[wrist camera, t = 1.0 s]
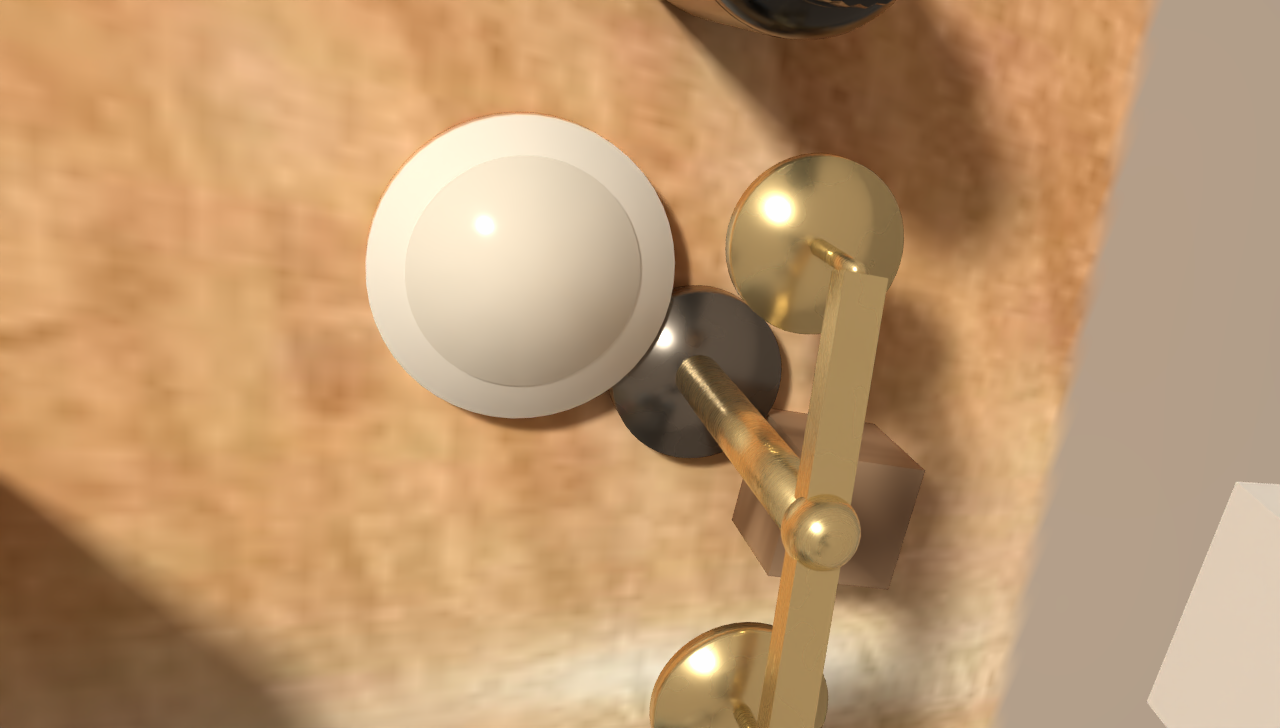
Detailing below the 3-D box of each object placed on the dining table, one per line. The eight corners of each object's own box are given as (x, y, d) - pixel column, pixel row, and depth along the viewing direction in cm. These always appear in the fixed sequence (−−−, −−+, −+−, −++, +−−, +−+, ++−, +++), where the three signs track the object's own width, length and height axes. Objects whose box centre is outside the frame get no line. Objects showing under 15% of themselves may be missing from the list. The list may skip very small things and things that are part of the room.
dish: (718, 302, 43) (728, 313, 41) (476, 459, 42) (479, 474, 41) (567, 51, 39) (574, 54, 38) (302, 221, 39) (300, 230, 38)
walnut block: (841, 532, 47) (888, 589, 42) (731, 518, 45) (768, 575, 41) (873, 423, 45) (925, 470, 41) (761, 406, 44) (802, 452, 40)
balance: (711, 598, 46) (862, 877, 32) (557, 582, 45) (644, 867, 31) (834, 138, 42) (1072, 230, 28) (667, 101, 40) (830, 178, 26)
